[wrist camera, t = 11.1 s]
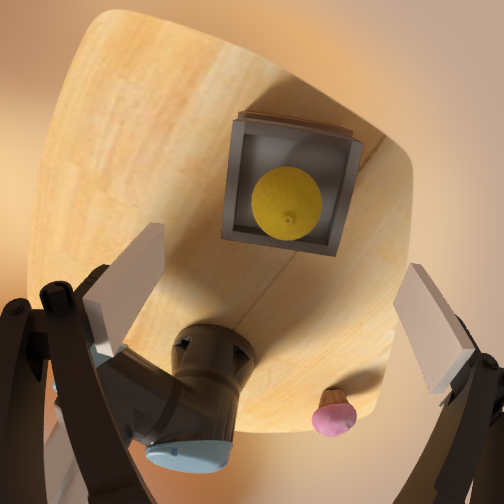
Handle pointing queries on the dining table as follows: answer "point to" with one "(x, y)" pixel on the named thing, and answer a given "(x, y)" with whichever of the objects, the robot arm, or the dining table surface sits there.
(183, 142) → the dining table surface
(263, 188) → the lemon
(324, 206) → the grey storage bin
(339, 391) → the cupcake
